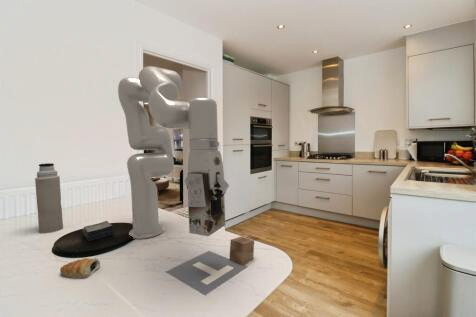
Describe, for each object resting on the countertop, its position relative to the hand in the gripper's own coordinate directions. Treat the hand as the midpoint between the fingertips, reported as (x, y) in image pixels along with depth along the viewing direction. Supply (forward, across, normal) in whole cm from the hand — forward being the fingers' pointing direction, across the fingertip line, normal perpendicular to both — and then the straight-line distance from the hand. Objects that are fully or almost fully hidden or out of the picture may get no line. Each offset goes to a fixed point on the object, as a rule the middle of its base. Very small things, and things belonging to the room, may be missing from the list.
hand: (205, 211), depth 64 cm
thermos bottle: (+17, +76, +19) cm, 80 cm away
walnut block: (+17, -4, -10) cm, 20 cm away
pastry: (+17, +27, +22) cm, 39 cm away
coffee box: (+5, 0, -1) cm, 6 cm away
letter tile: (+17, 0, 0) cm, 17 cm away
